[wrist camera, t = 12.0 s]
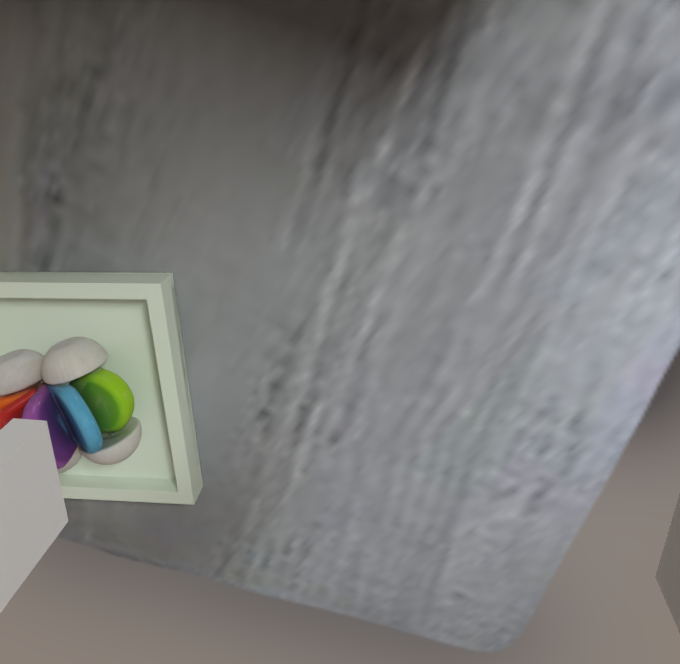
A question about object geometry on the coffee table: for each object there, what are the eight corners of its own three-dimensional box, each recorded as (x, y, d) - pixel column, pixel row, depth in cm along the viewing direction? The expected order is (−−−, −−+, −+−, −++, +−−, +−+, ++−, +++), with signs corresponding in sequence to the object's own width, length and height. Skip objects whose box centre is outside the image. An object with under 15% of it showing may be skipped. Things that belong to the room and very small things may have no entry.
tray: (-53, 271, 41) (-75, 281, 39) (172, 272, 39) (160, 283, 37) (7, 477, 47) (-9, 494, 45) (203, 486, 45) (194, 504, 43)
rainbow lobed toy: (-10, 349, 42) (-90, 404, 35) (120, 320, 40) (61, 373, 33) (45, 455, 45) (-20, 524, 38) (168, 433, 43) (122, 502, 36)
